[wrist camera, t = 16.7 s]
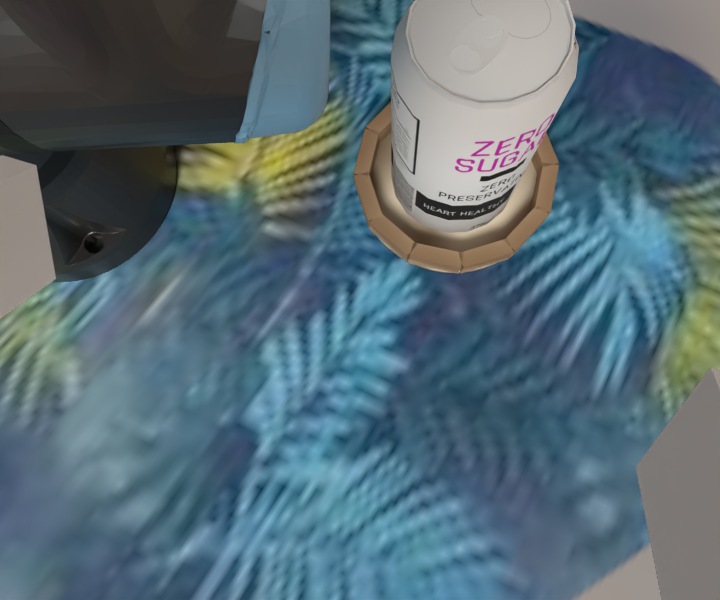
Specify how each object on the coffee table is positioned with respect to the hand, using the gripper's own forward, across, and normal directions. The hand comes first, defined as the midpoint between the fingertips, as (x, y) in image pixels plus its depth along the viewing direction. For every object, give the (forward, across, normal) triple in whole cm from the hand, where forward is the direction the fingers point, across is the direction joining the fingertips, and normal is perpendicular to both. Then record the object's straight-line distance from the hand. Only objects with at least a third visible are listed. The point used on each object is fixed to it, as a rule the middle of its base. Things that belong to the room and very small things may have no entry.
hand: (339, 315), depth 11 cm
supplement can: (+28, +1, -8) cm, 29 cm away
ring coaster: (+28, +1, -8) cm, 29 cm away
